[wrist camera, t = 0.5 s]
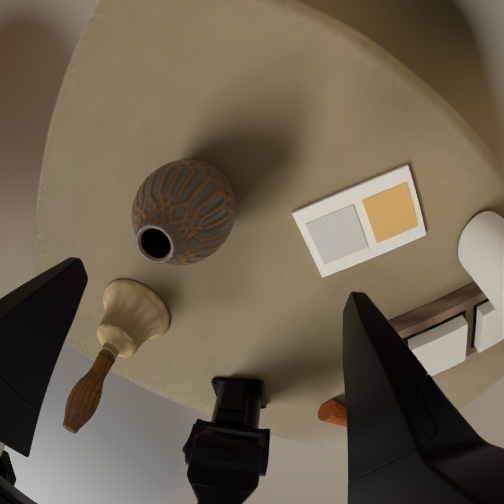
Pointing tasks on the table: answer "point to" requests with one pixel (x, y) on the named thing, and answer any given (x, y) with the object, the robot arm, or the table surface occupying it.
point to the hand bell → (116, 342)
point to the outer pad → (488, 327)
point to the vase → (183, 212)
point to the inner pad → (441, 346)
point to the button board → (443, 313)
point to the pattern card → (362, 221)
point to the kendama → (333, 413)
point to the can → (485, 255)
